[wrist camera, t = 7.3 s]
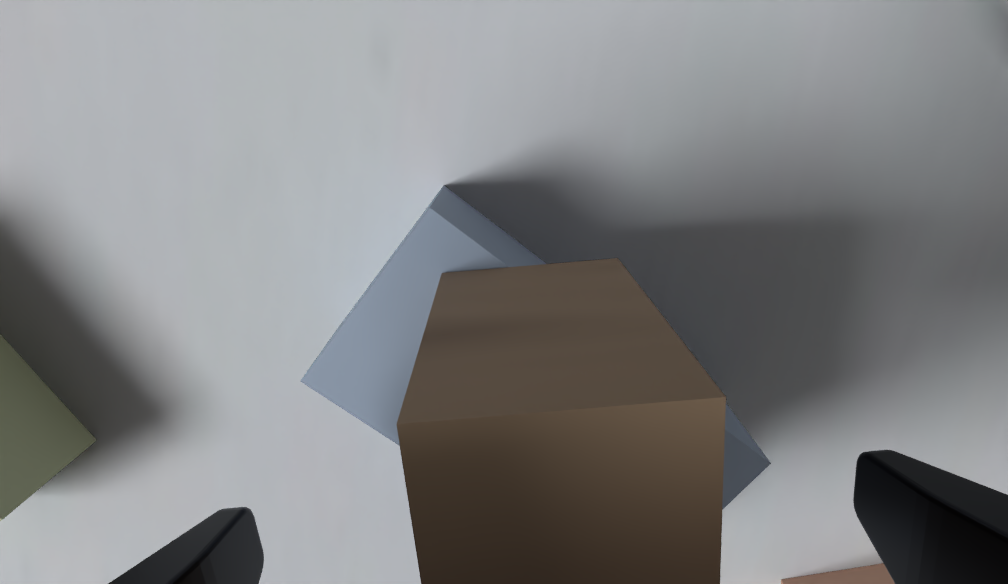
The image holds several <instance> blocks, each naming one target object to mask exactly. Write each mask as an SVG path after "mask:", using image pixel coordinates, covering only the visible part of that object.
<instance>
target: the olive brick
mask: <svg viewBox="0 0 1008 584" xmlns="http://www.w3.org/2000/svg"><path fill="white" fill-rule="evenodd" d="M95 441H96V439H95V438H94V437H93V436H92V435H91V434H90V432H89V431H88V430H87V429H86V428H85V427H84V426H83V425H82V424H81V423H80V421H79V420H78V419H77V418H76V417H75V416H74V415H73V414H72V413H71V412H70V410H69V409H68V408H67V407H66V406H65V405H64V404H63V403H62V402H61V401H60V400H59V398H58V397H57V396H56V395H55V394H54V393H53V392H52V391H51V390H50V389H49V387H48V386H47V385H46V384H45V383H44V382H43V381H42V380H41V379H40V378H39V376H38V375H37V374H36V373H35V372H34V371H33V370H32V369H31V368H30V367H29V365H28V364H27V363H26V362H25V361H24V360H23V359H22V358H21V357H20V356H19V354H18V353H17V352H16V351H15V350H14V349H13V348H12V347H11V346H10V345H9V343H8V342H7V341H6V340H5V339H4V338H3V337H2V336H1V335H0V521H1V520H2V519H4V518H5V517H6V516H7V515H8V514H10V513H11V512H12V511H13V510H14V509H16V508H17V507H18V506H19V505H20V504H21V503H23V502H24V501H25V500H26V499H27V498H29V497H30V496H31V495H32V494H33V493H35V492H36V491H37V490H38V489H39V488H41V487H42V486H43V485H44V484H45V483H46V482H48V481H49V480H50V479H51V478H52V477H54V476H55V475H56V474H57V473H58V472H60V471H61V470H62V469H63V468H64V467H66V466H67V465H68V464H69V463H70V462H71V461H73V460H74V459H75V458H76V457H77V456H79V455H80V454H81V453H82V452H83V451H85V450H86V449H87V448H88V447H89V446H90V445H92V444H93V443H94V442H95Z"/></svg>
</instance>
